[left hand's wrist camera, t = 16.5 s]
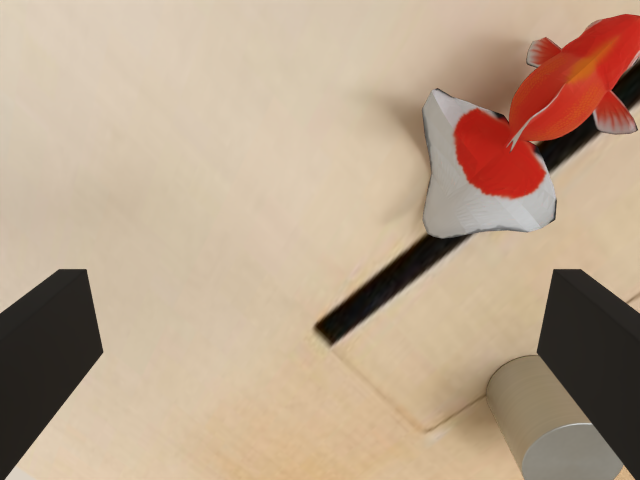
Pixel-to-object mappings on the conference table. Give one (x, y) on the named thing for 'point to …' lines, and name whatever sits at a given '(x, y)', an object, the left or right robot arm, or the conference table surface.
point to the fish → (523, 133)
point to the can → (547, 425)
